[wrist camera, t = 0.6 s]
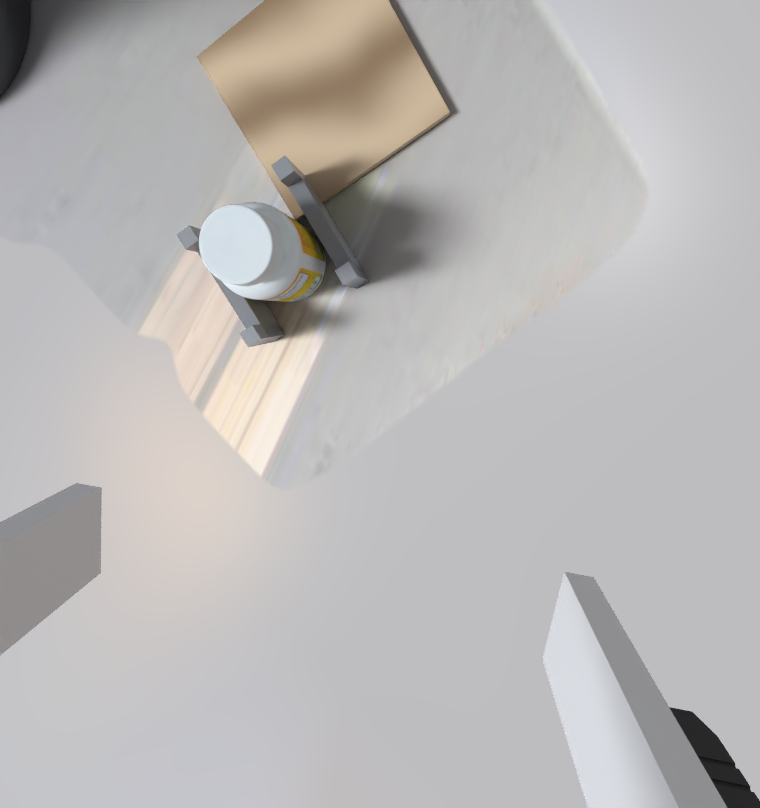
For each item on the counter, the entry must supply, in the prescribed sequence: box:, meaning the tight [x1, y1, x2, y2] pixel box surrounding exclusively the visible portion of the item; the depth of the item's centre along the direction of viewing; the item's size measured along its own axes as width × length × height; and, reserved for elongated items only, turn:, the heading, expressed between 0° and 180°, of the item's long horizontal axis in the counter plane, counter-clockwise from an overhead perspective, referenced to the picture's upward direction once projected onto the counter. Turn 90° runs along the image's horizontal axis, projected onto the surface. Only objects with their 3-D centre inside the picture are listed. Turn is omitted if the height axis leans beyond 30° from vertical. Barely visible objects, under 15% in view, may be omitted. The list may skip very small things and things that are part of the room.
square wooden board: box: [197, 0, 450, 221], centre depth 31 cm, size 12×12×1 cm
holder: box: [177, 155, 369, 347], centre depth 32 cm, size 8×8×5 cm
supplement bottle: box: [199, 202, 326, 302], centre depth 30 cm, size 5×5×10 cm
